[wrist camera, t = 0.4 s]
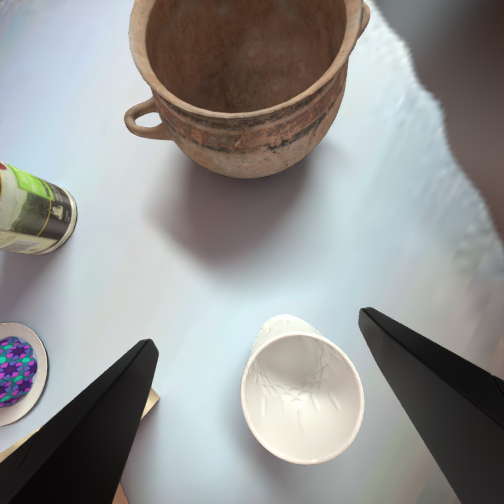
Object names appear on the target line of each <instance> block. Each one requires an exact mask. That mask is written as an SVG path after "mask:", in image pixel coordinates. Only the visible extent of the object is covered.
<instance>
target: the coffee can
mask: <svg viewBox="0 0 504 504" xmlns="http://www.w3.org/2000/svg"><path fill="white" fill-rule="evenodd" d="M76 218H77V209H76V204H75V201H74V199H73V197H72V196H71V194H70V193H69V192H68V191H66V190H65V189H64V188H62V187H59V186H57V185H54V184H51V183H49V182H47V181H45V180H42V179H40V178H38V177H35V176H33V175H31V174H29V173H26V172H24V171H22V170H19V169H17V168H15V167H13V166H10V165H8V164H6V163H4V162H1V161H0V251H8V252H17V253H26V254H31V255H42V254H46V253H49V252H52V251H54V250H55V249H57V248H58V247H60V246H61V245H62V244H63V243H64V242H65V241H66V240H67V239H68V237H69V236H70V234H71V233H72V231H73V229H74V226H75V223H76Z"/></svg>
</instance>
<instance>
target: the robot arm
mask: <svg viewBox="0 0 504 504" xmlns="http://www.w3.org/2000/svg"><path fill="white" fill-rule="evenodd" d="M358 324H359V328H360V330H361V332H362V334H363V336H364V338H365V341H366V343H367V345H368V347H369V349H370V351H371V353H372V355H373V357H374V359H375V361H376V363H377V365H378V367H379V369H380V370H381V372H382V374H383V375H384V377H385V379H386V380H387V382H388V384H389V385H390V387H391V388H392V390H393V392H394V393H395V395H396V397H397V398H398V400H399V402H400V403H401V405H402V407H403V408H404V410H405V411H406V413H407V415H408V416H409V418H410V420H411V421H412V423H413V425H414V426H415V428H416V430H417V431H418V433H419V434H420V436H421V438H422V439H423V441H424V443H425V444H426V446H427V448H428V449H429V451H430V453H431V454H432V456H433V458H434V459H435V461H436V462H437V464H438V466H439V467H440V469H441V471H442V472H443V474H444V476H445V477H446V479H447V481H448V482H449V484H450V485H451V487H452V489H453V490H454V492H455V494H456V495H457V497H458V499H459V500H460V502H461V504H504V380H502V379H500V378H498V377H496V376H494V375H491V374H490V373H489V372H487V371H485V370H484V369H482V368H480V367H478V366H476V365H475V364H473V363H471V362H469V361H467V360H466V359H464V358H462V357H460V356H458V355H457V354H455V353H453V352H451V351H449V350H448V349H446V348H444V347H442V346H440V345H439V344H437V343H435V342H433V341H431V340H430V339H428V338H426V337H424V336H422V335H421V334H419V333H417V332H415V331H413V330H412V329H410V328H408V327H406V326H404V325H403V324H401V323H399V322H397V321H395V320H394V319H392V318H390V317H388V316H386V315H385V314H383V313H381V312H379V311H377V310H376V309H374V308H371V307H366V308H361V309H360V311H359V321H358ZM158 356H159V352H158V349H157V348H156V346H155V344H154V342H153V341H152V340H151V339H144V340H141V341H139V342H138V343H137V344H136V345H135V346H133V347H132V348H131V349H130V350H129V351H128V352H127V353H125V354H124V355H123V356H122V357H121V358H120V359H119V360H117V361H116V362H115V363H114V364H113V365H112V366H111V367H109V368H108V369H107V370H106V371H105V372H104V373H103V374H101V375H100V376H99V377H98V378H97V379H96V380H95V381H93V382H92V383H91V384H90V385H89V386H88V387H87V388H85V389H84V390H83V391H82V392H81V393H80V394H79V395H78V396H76V397H75V398H74V399H73V400H72V401H71V402H70V403H68V404H67V405H66V406H65V407H64V408H63V409H62V410H60V411H59V412H58V413H57V414H56V415H55V416H54V417H52V418H51V419H50V420H49V421H48V422H47V423H46V424H44V425H43V426H42V427H41V428H40V429H39V431H36V432H35V433H34V434H33V435H32V436H31V437H30V438H28V439H27V440H26V441H25V442H24V443H23V444H22V445H20V446H19V447H18V448H17V449H16V450H15V451H13V452H12V453H11V454H10V455H9V456H8V457H6V458H5V459H4V460H3V461H2V462H1V463H0V504H112V503H113V500H114V497H115V494H116V491H117V488H118V485H119V482H120V479H121V476H122V473H123V470H124V468H125V465H126V462H127V459H128V456H129V453H130V450H131V447H132V444H133V441H134V438H135V435H136V432H137V429H138V426H139V423H140V420H141V417H142V415H143V412H144V409H145V406H146V403H147V400H148V396H149V393H150V389H151V385H152V381H153V377H154V373H155V369H156V365H157V361H158Z"/></svg>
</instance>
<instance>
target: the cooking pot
mask: <svg viewBox="0 0 504 504" xmlns="http://www.w3.org/2000/svg"><path fill="white" fill-rule="evenodd" d="M369 19H370V9H369V7H368V5H367V4H366V3H365V2H363V0H135V2H134V5H133V9H132V12H131V15H130V23H129V32H128V33H129V43H130V50H131V53H132V56H133V60H134V63H135V65H136V67H137V69H138V70H139V72H140V74H141V76H142V77H143V79H144V80H145V81H146V82H147V84H148V85H149V86H150V87H151V90H152V94H153V97H152V98H150V99H149V100H147V101H145V102H143V103H140V104H138V105H135V106H133V107H132V108H130V109H129V110H128V111H127V112H126V113H125V116H124V121H125V124H126V127H127V128H128V130H129V131H130V132H131V133H133V134H134V135H136V136H139V137H143V138H149V139H158V140H173V141H174V142H175V143H176V144H177V145H178V147H179V148H180V149H181V150H182V151H183V152H184V153H185V154H186V155H187V156H188V157H190V158H191V159H192V160H193V161H195V162H196V163H197V164H199V165H201V166H203V167H205V168H207V169H209V170H210V171H212V172H215V173H218V174H221V175H224V176H228V177H234V178H242V179H245V178H260V177H264V176H269V175H273V174H275V173H278V172H281V171H283V170H285V169H287V168H289V167H290V166H292V165H294V164H296V163H297V162H299V161H300V160H301V159H303V158H304V157H305V156H306V155H307V154H309V153H310V152H311V151H312V150H313V149H314V148H315V147H316V146H317V145H318V143H319V142H320V141H321V140H322V139H323V138H324V136H325V135H326V134H327V132H328V130H329V128H330V127H331V125H332V123H333V121H334V120H335V118H336V116H337V113H338V110H339V107H340V105H341V102H342V99H343V96H344V91H345V85H346V77H347V69H348V60H349V56H350V54H351V52H352V50H353V49H354V47H355V45H356V42H357V40H358V39H359V37H360V36H361V35H362V33H363V32H364V30H365V28H366V27H367V25H368V22H369ZM151 112H157V113H159V115H160V118H161V121H162V123H161V124H159V125H158V126H156V127H151V128H149V127H142V126H138V125H136V123H135V120H136V119H137V118H138V117H140V116H143V115H145V114H148V113H151Z"/></svg>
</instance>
